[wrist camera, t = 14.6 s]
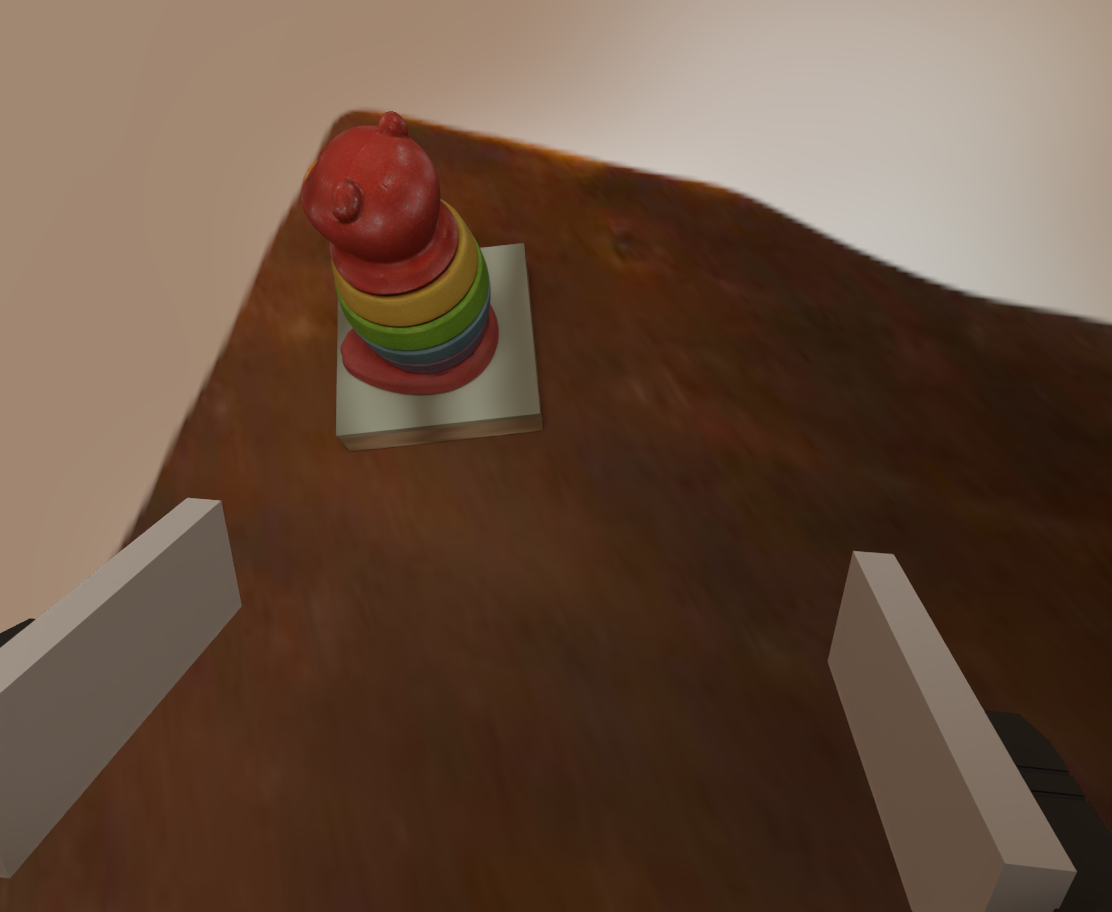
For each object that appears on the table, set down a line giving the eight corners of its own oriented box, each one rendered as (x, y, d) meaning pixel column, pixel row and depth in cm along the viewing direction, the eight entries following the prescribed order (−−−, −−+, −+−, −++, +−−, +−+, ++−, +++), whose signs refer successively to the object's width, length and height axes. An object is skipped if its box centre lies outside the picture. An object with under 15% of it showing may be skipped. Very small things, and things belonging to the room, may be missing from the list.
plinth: (527, 267, 56) (523, 243, 54) (543, 430, 51) (540, 413, 49) (351, 287, 57) (338, 264, 54) (350, 451, 52) (336, 435, 49)
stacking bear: (414, 252, 54) (332, 41, 37) (531, 305, 52) (499, 106, 35) (332, 366, 51) (202, 191, 34) (452, 428, 49) (376, 273, 32)
